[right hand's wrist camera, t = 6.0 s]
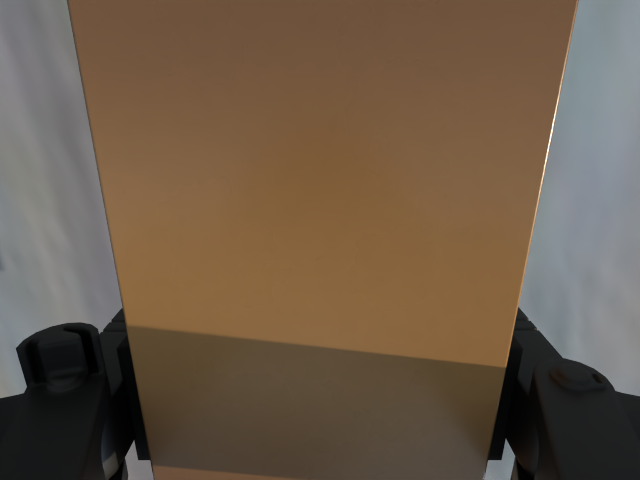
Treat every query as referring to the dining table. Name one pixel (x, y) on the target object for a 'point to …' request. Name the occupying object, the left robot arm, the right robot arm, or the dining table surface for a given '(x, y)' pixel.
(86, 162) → the dining table surface
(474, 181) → the post
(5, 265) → the dining table surface
